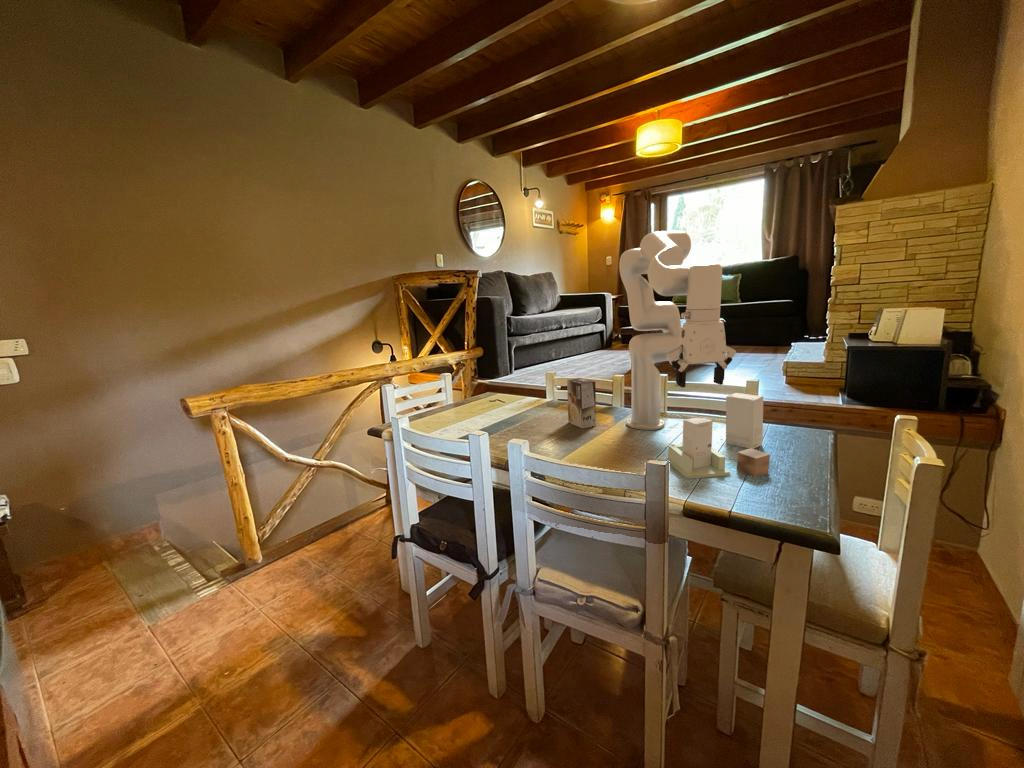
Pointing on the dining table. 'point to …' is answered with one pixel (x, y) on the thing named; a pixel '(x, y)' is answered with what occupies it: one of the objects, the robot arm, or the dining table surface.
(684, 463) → the u rest
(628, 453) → the dining table surface
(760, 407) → the skincare box
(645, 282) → the robot arm
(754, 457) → the walnut block
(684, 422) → the skincare box
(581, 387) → the coffee box
